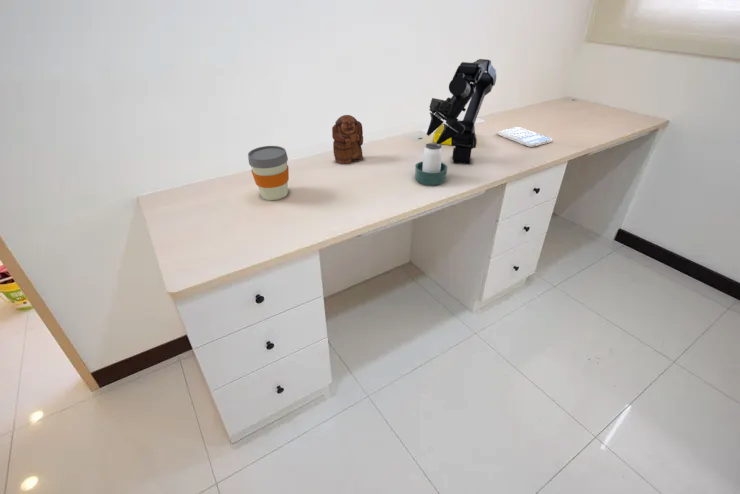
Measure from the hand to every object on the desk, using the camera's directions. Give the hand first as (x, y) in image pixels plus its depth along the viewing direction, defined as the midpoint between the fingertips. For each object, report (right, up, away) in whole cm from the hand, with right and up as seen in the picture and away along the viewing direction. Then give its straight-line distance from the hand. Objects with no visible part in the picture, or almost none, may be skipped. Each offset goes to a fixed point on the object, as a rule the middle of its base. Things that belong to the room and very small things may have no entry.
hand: (432, 139), depth 135 cm
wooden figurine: (-31, -4, +17) cm, 36 cm away
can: (0, -14, +1) cm, 14 cm away
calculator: (+47, +10, +34) cm, 59 cm away
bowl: (-1, -14, +1) cm, 14 cm away
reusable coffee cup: (-56, -21, -6) cm, 60 cm away
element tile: (+15, +10, +34) cm, 39 cm away
